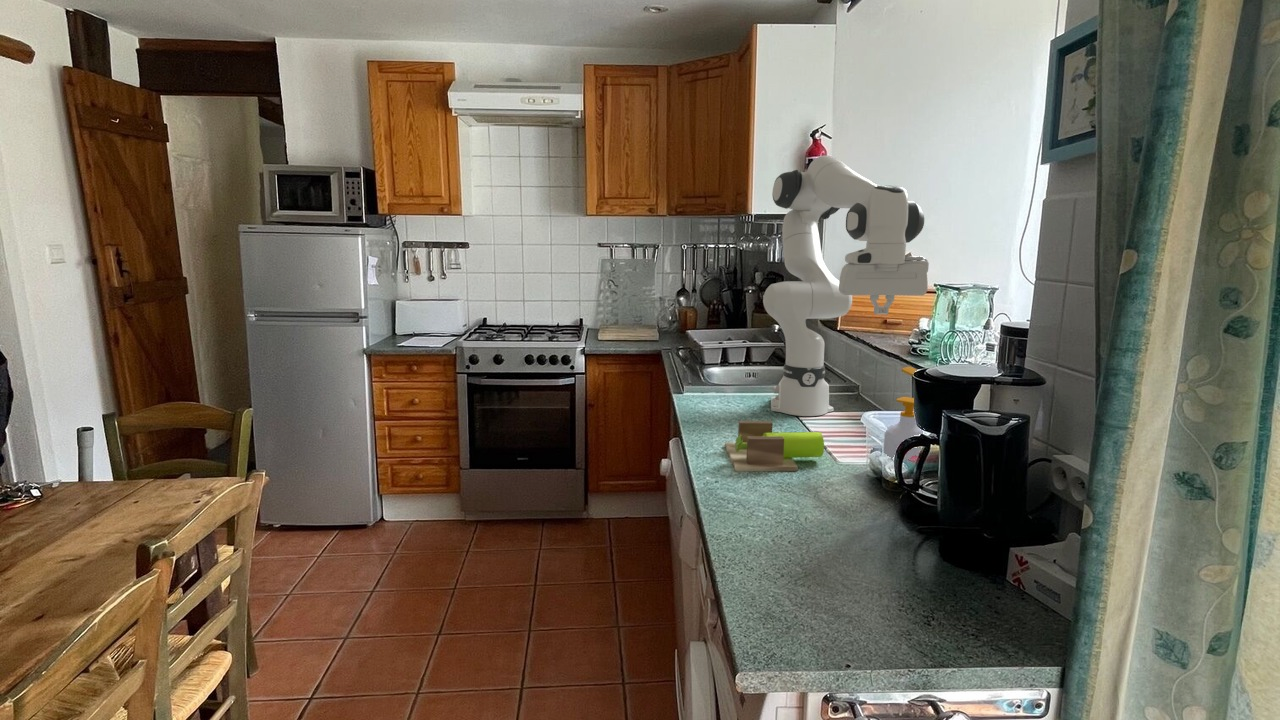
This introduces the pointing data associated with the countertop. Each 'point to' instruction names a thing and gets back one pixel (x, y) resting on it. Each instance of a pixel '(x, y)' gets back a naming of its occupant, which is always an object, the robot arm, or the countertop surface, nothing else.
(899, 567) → the countertop surface
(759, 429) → the u rest
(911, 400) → the soap bottle
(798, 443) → the soap dispenser
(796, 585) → the countertop surface
